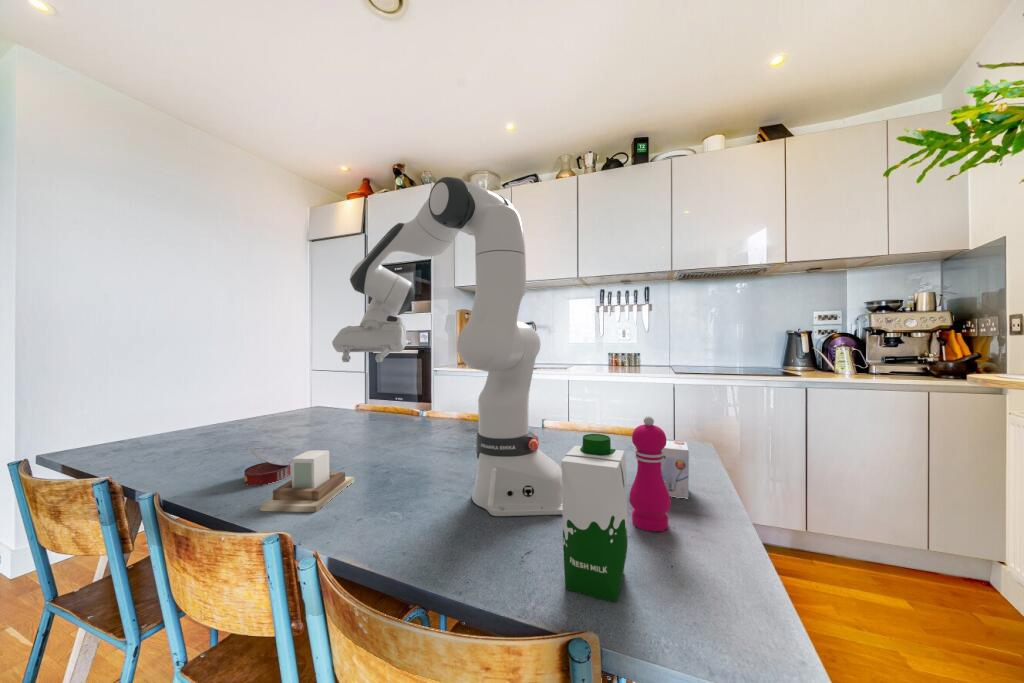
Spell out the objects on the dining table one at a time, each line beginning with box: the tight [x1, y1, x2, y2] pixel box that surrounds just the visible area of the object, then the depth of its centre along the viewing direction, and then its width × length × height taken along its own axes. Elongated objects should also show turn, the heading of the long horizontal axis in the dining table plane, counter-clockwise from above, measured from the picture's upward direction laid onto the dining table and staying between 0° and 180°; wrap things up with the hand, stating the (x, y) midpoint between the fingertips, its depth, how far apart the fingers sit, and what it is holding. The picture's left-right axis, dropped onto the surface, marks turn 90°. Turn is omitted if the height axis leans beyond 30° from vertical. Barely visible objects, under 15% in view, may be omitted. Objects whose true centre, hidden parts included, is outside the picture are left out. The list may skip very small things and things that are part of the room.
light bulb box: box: [661, 440, 690, 498], centre depth 83 cm, size 11×7×11 cm, turn 68°
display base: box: [259, 471, 355, 513], centre depth 83 cm, size 12×16×3 cm
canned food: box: [243, 446, 291, 486], centre depth 94 cm, size 11×10×10 cm
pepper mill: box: [628, 416, 672, 532], centre depth 69 cm, size 7×7×20 cm
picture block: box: [291, 449, 330, 488], centre depth 83 cm, size 5×6×8 cm
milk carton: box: [561, 433, 628, 604], centre depth 53 cm, size 9×9×20 cm
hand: (361, 360), depth 101 cm, fingers open, 8 cm apart
